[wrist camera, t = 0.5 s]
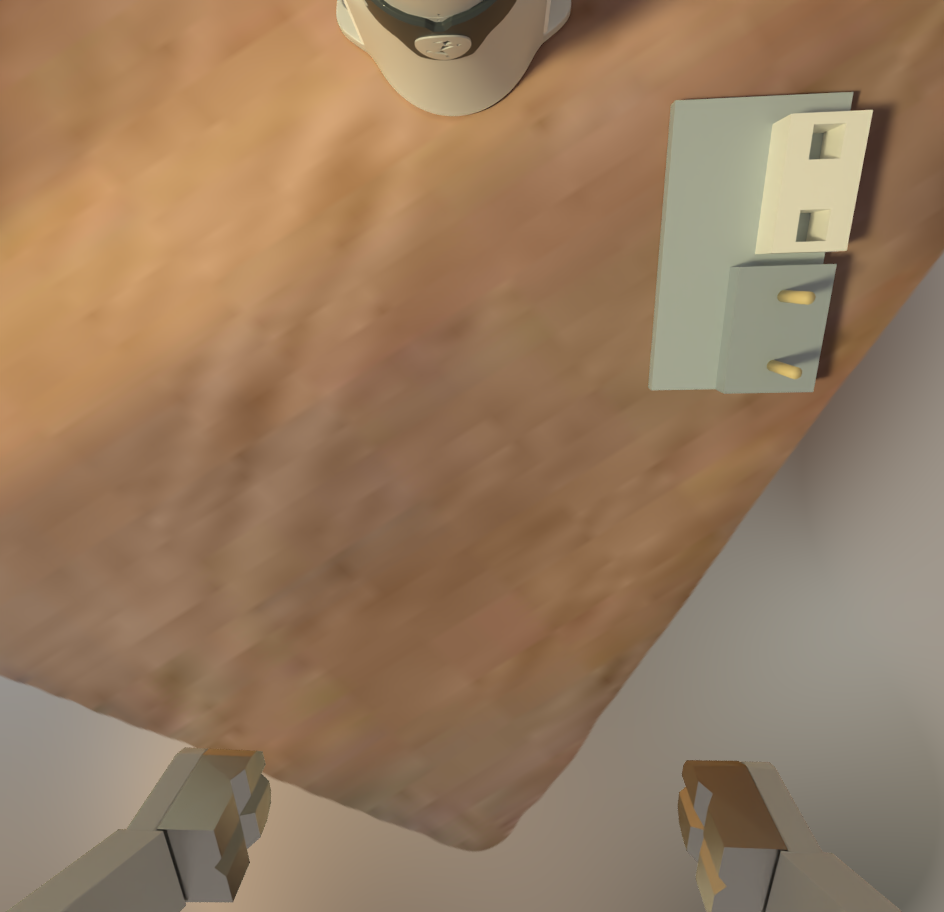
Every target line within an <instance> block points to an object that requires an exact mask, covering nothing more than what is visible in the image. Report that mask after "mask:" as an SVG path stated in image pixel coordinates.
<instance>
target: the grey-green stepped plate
mask: <svg viewBox="0 0 944 912" xmlns="http://www.w3.org/2000/svg"><path fill="white" fill-rule="evenodd" d="M852 98H853V92H840V93H820V94H799V95H778V96H757V97H737V98H716V99H695V100H675V101H674V102H673V103H672V104H671V111H670V123H669V136H668V148H667V160H666V173H665V185H664V198H663V210H662V223H661V235H660V247H659V260H658V272H657V285H656V297H655V310H654V322H653V334H652V347H651V359H650V372H649V384H648V388H649V389H651V390H689V389H716V390H718V391H720V392H722V393H779V392H813V391H814V385H815V380H816V375H817V369H818V364H819V358H820V353H821V347H822V342H823V336H824V331H825V326H826V320H827V315H828V309H829V304H830V298H831V293H832V288H833V282H834V277H835V271H836V266H837V264H823V262H824V257H825V252H814V253H783V254H755V250H756V242H757V235H758V228H759V220H760V213H761V206H762V198H763V191H764V183H765V176H766V169H767V161H768V154H769V147H770V139H771V132H772V125H773V124H774V123H775V122H777V121H779V120H781V119H783V118H785V117H786V116H788V115H790V114H793V113H815V112H837V111H850V109H851V103H852ZM823 134H824V133H813V135H812V141H811V147H810V154H809V160H812V159H820V153H821V146H822V140H823ZM810 214H811V213H800V217H799V223H798V230H797V236H796V242H806V238H807V232H808V226H809V220H810Z"/></svg>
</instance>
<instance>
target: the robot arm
mask: <svg viewBox="0 0 944 912" xmlns="http://www.w3.org/2000/svg"><path fill="white" fill-rule="evenodd" d="M570 12H571V0H337V9H336V17H337V22H338V24H339V27H340V29H341V31H342V33H343V34H344V35H345V36H346V37H347V38H348V39H349V40H350V41H351V42H353V43H354V44H355V45H357V46H358V47H360V48H361V49H363V50H364V51H366V52H367V53H368V54H369V55H370V56H371V57H372V58H373V60H374V61H375V62H376V64H377V65H378V67H379V69H380V70H381V72H382V73H383V75H384V76H385V78H386V79H387V81H388V82H389V83H390V84H391V86H392V87H393V88H394V89H395V90H396V91H397V92H398V93H399V94H400V95H401V96H402V97H403V98H405V99H406V100H407V101H409V102H410V103H412V104H413V105H415V106H417V107H418V108H420V109H423V110H425V111H427V112H430V113H434V114H438V115H443V116H463V115H469V114H473V113H476V112H479V111H482V110H484V109H486V108H488V107H490V106H492V105H493V104H495V103H496V102H498V101H499V100H501V99H502V98H503V97H504V96H505V95H507V94H508V93H509V92H510V91H511V90H512V89H513V88H514V87H515V85H516V84H517V83H518V82H519V80H520V79H521V78H522V76H523V75H524V73H525V71H526V70H527V68H528V66H529V64H530V63H531V61H532V59H533V57H534V55H535V53H536V52H537V50H538V49H539V47H540V46H541V45H542V44H543V43H544V42H545V41H546V40H548V39H549V38H550V37H551V36H552V35H554V34H555V33H556V32H557V31H558V30H559V29H560V28H561V27H562V26H563V25H564V24H565V23H566V21H567V20H568V18H569V16H570ZM264 766H265V760H264V756H263V752H261V751H250V750H232V749H213V748H186V747H185V748H184V749H183V750H181V751H180V752H179V753H177V755H176V756H175V757H174V759H173V760H172V762H171V763H170V765H169V766H168V768H167V769H166V771H165V772H164V773H163V775H162V777H161V778H160V780H159V781H158V783H157V784H156V785H155V787H154V789H153V790H152V792H151V793H150V794H149V796H148V797H147V799H146V801H145V802H144V803H143V805H142V806H141V808H140V809H139V811H138V813H137V814H136V815H135V817H134V819H133V820H132V821H131V823H130V824H129V826H128V828H127V829H124V830H123V829H118V830H117V831H116V832H114V833H113V834H111V835H110V836H109V837H107V838H106V839H105V840H103V841H102V842H101V843H99V844H98V845H96V846H95V847H94V848H92V849H91V850H90V851H88V852H87V853H86V854H84V855H83V856H81V857H80V858H79V859H77V860H76V861H75V862H73V863H72V864H71V865H69V866H68V867H67V868H65V869H64V870H63V871H61V872H60V873H58V874H57V875H56V876H54V877H53V878H52V879H50V880H49V881H47V882H46V883H45V884H43V885H42V886H41V887H39V888H38V889H36V890H35V891H34V892H32V893H31V894H30V895H28V896H27V897H26V898H24V899H23V900H22V901H20V902H19V903H17V904H16V905H15V906H13V907H12V908H11V909H9V910H8V911H6V912H180V911H181V910H182V909H183V908H184V907H185V906H186V903H185V902H233V901H234V899H235V896H236V894H237V891H238V889H239V887H240V884H241V882H242V880H243V877H244V875H245V872H246V870H247V868H248V866H249V863H250V861H249V856H248V852H247V849H248V848H249V847H250V846H251V845H252V844H253V843H254V842H256V841H257V840H258V839H259V838H260V837H261V834H262V832H263V829H264V827H265V824H266V822H267V818H268V813H269V809H270V804H271V789H270V783H269V781H268V780H267V779H266V778H265V777H264V776H263V775H262V774H261V773H262V771H263V769H264ZM682 777H683V779H684V782H685V785H686V787H685V788H684V789H683V790H681V791H680V792H679V800H678V815H679V824H680V828H681V833H682V837H683V841H684V844H685V847H686V851H687V852H688V853H689V854H690V855H691V856H692V857H693V858H694V859H695V860H696V861H697V862H698V866H697V872H696V882H697V885H698V888H699V891H700V894H701V896H702V900H703V903H704V906H705V909H706V912H902V911H901V910H900V909H898V908H897V907H896V906H895V905H894V904H893V903H891V902H890V901H889V900H888V899H887V898H885V897H884V896H883V895H882V894H881V893H879V892H878V891H877V890H876V889H874V888H873V887H872V886H871V885H870V884H869V883H867V882H866V881H865V880H864V879H862V878H861V877H860V876H859V875H857V874H856V873H855V872H854V871H853V870H851V869H850V868H849V867H848V866H847V865H846V864H844V863H843V862H842V861H841V860H840V859H838V858H837V857H836V856H835V855H834V854H832V853H824V852H822V850H821V848H820V846H819V845H818V843H817V841H816V839H815V838H814V836H813V834H812V832H811V831H810V829H809V827H808V825H807V823H806V821H805V820H804V818H803V816H802V815H801V813H800V811H799V809H798V807H797V805H796V804H795V802H794V800H793V798H792V797H791V795H790V793H789V791H788V789H787V788H786V786H785V784H784V782H783V780H782V779H781V777H780V775H779V773H778V772H777V770H776V768H775V767H774V766H773V765H772V764H771V763H770V762H743V761H742V762H739V761H700V760H696V761H695V760H687V761H686V762H685V764H684V765H683V771H682Z"/></svg>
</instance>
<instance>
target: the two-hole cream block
mask: <svg viewBox="0 0 944 912" xmlns="http://www.w3.org/2000/svg"><path fill="white" fill-rule="evenodd" d="M872 113H873V110H858V111H837V112H815V113H793V114H790V115H788V116H786V117H785V118H783V119H781V120H779V121H777V122H775V123H774V124H773V125H772V132H771V139H770V147H769V154H768V161H767V169H766V176H765V183H764V191H763V198H762V206H761V213H760V220H759V228H758V235H757V242H756V250H755V254H783V253H814V252H835V251H847V246H848V241H849V235H850V230H851V225H852V219H853V214H854V209H855V203H856V198H857V193H858V187H859V182H860V177H861V172H862V166H863V161H864V156H865V150H866V145H867V140H868V134H869V129H870V124H871V118H872ZM813 133H824V134H823V140H822V146H821V153H820V159H812V160H809V154H810V147H811V141H812V135H813ZM800 213H811V214H810V220H809V226H808V232H807V238H806V242H796V236H797V230H798V223H799V217H800Z"/></svg>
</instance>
